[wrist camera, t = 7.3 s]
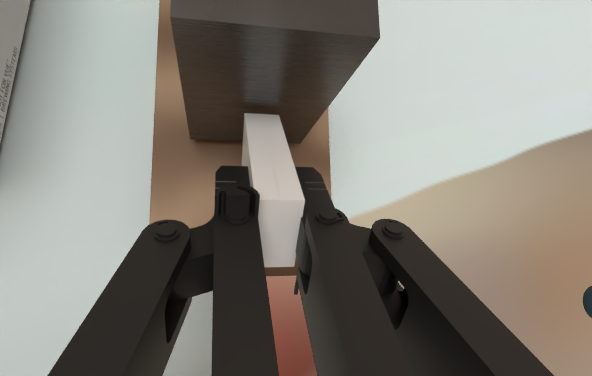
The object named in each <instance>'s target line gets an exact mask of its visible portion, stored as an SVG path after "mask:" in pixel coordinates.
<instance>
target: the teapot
mask: <svg viewBox="0 0 592 376" xmlns="http://www.w3.org/2000/svg"><path fill="white" fill-rule="evenodd" d="M583 305H584V309H585V311H586V312H587V314H588V315H589V316H590V317H591V318H592V286H591V287H589V288H588V289H587V290H586V291H585V293H584V296H583Z"/></svg>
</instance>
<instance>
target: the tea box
mask: <svg viewBox="0 0 592 376" xmlns="http://www.w3.org/2000/svg"><path fill="white" fill-rule="evenodd" d="M30 1H31V0H0V142H1V137H2V132H3V128H4V123H5V118H6V114H7V109H8V104H9V99H10V95H11V90H12V85H13V81H14V76H15V72H16V67H17V62H18V58H19V53H20V48H21V43H22V39H23V34H24V29H25V25H26V20H27V15H28V11H29V6H30Z"/></svg>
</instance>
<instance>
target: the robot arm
mask: <svg viewBox="0 0 592 376" xmlns="http://www.w3.org/2000/svg"><path fill="white" fill-rule="evenodd" d="M296 256H297V261H298V271H297V278H296V283H295V289H294V294H298V289H299V290H300V295H301V300H302V304H303V309H304V314H305V319H306V323H307V328H308V333H309V338H310V342H311V347H312V352H313V357H314V362H315V366H316V371H317V376H554V375H553V374H552V373H551V372H550V371H549V370H548V369H547V368H546V367H545V366H544V365H543V364H542V363H541V362H540V361H539V360H538V359H537V358H536V357H535V356H534V355H533V354H532V353H531V352H530V351H529V350H528V349H527V348H526V347H525V345H523V343H521V341H520V340H519V339H518V338H517V337H516V336H515V335H514V334H513V333H512V332H511V331H510V330H509V329H508V328H507V327H506V326H505V325H504V324H503V323H502V322H501V321H500V320H499V319H498V318H497V317H496V316H495V315H494V314H493V313H492V312H491V311H490V310H489V309H488V308H487V307H486V306H485V305H484V304H483V303H482V302H481V301H480V300H479V298H477V296H476V295H475V294H474V293H473V292H472V291H471V290H470V289H468V287H467V286H466V285H465V284H464V283H463V282H462V281H461V280H460V279H459V278H458V277H457V276H456V275H455V274H454V273H453V272H452V271H451V270H450V269H449V268H448V267H447V266H446V265H445V264H444V263H443V262H442V261H441V260H440V259H439V258H438V257H437V256H436V255H435V254H434V252H432V251H431V249H429V247H428V246H427V245H426V244H425V243H424V242H423V241H422V240H421V239H420V238H419V237H418V236H417V235H416V234H415V233H414V232H413V231H412V230H411V229H410V228H409V227H407V226H406V225H405V224H403V223H401V222H398V221H396V220H392V219H381V220H378V221H376V222H375V223H374V224H373V225H372V228H371V229H369V228H365V227H360V226H356V225H353V224H350V223H349V221H348V219H347V217H346V216H345V214H344V213H342V212H341V211H340V210H338V209H335V208H334V205H333V203H332V200H331V198H330V195H329V193H328V190H327V188H326V185H325V183H324V180H323V178H322V175H321V174H320V173H319V172H318V171H317V170H316V169H315V168H313V167H295V166H294V163H293V160H292V156H291V153H290V150H289V146H288V143H287V140H286V137H285V133H284V130H283V127H282V124H281V120H280V117H279V115H270V114H253V113H244V129H243V147H242V165H241V166H222V165H221V166H220V168H219V169H218V170H217V171H216V172H215V209H214V216H213V217H212V219H211V220H210V221H209V222H207V223H206V224H204V225H202V226H198V227H195V228H190V229H189V227H188V226H187V225H186V224H184V223H183V222H181V221H177V220H167V219H165V220H160V221H156V222H154V223H152V224H150V225H148V226H147V227H146V228H145V229H144V230H143V231H142V233H141V234H140V236H139V237H138V239H137V240H136V242H135V243H134V245H133V246H132V248H131V250H130V251H129V253H128V254H127V256H126V257H125V259H124V260H123V262H122V263H121V265H120V266H119V268H118V269H117V271H116V272H115V274H114V275H113V277H112V278H111V280H110V281H109V283H108V285H107V286H106V288H105V289H104V291H103V292H102V294H101V295H100V297H99V298H98V300H97V301H96V303H95V304H94V306H93V307H92V309H91V310H90V312H89V313H88V315H87V316H86V318H85V320H84V321H83V323H82V324H81V326H80V327H79V329H78V330H77V332H76V333H75V335H74V336H73V338H72V339H71V341H70V342H69V344H68V345H67V347H66V348H65V350H64V351H63V353H62V355H61V356H60V358H59V359H58V361H57V362H56V364H55V365H54V367H53V368H52V370H51V371H50V373H49V374H48V376H162V375H163V373H164V370H165V367H166V365H167V362H168V360H169V357H170V355H171V352H172V350H173V347H174V345H175V342H176V339H177V337H178V334H179V332H180V329H181V327H182V324H183V322H184V319H185V317H186V314H187V312H188V309H189V306H190V304H191V301H192V297H193V296H196V295H200V294H203V293H206V292H210V291H213V329H212V376H279V373H278V365H277V358H276V351H275V343H274V335H273V327H272V320H271V313H270V305H269V297H268V289H267V282H266V274H265V267H294V266H295V259H296ZM398 281H400V283H401V284H402V285H403V286H404V289H403V288H402V287H401V286H400V285H399V283H398Z"/></svg>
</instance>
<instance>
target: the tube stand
mask: <svg viewBox="0 0 592 376" xmlns="http://www.w3.org/2000/svg"><path fill="white" fill-rule="evenodd" d="M170 5H171V0H160V3H159V25H158V47H157V69H156V91H155V113H154V135H153V157H152V179H151V201H150V223H149V225H150V224H152V223H154V222H156V221H160V220H165V219H167V220H177V221H181V222H183V223H184V224H186V225H187V226H188V227H189V229H190V228H195V227H198V226H202V225H204V224H206V223H207V222H209V221H210V220H211V219H212V217H213V216H214V209H215V172H216V171H217V170H218V169H219V168H220V166H221V165H222V166H241V165H242V147H243V141H220V140H196V139H190V135H189V129H188V123H187V117H186V111H185V105H184V99H183V93H182V87H181V81H180V75H179V68H178V62H177V56H176V50H175V44H174V38H173V32H172V26H171V20H170ZM288 146H289V150H290V153H291V156H292V160H293V163H294V166H295V167H313V168H315V169H316V170H317V171H318V172H319V173H320V174H321V175H322V178H323V180H324V183H325V185H326V188H327V190H328V193H329V195H330V198H331V180H330V153H329V126H328V108H327V109H326V110H325V112H324V113H323V114H322V116H321V117H320V118H319V120H318V121H317V122H316V124H315V125H314V126H313V128H312V129H311V130H310V132H309V133H308V134H307V136H306V137H305V138H304V140H303V141H302V142H301V144H293V143H288ZM297 271H298V261H297V256H296V259H295V266H294V267H265V274H266V276H291V275H297Z"/></svg>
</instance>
